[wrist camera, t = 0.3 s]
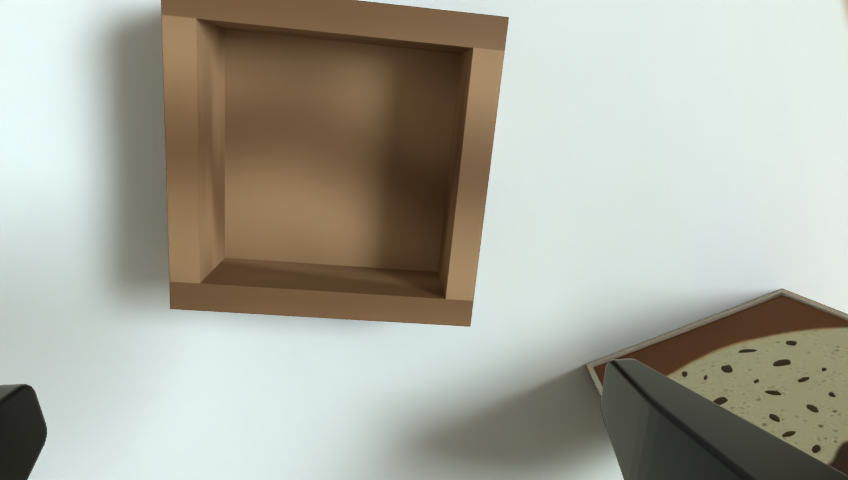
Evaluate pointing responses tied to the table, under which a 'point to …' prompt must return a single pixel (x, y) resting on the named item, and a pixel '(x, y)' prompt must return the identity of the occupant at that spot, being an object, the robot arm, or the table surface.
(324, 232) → the holder
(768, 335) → the food container
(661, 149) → the table surface
